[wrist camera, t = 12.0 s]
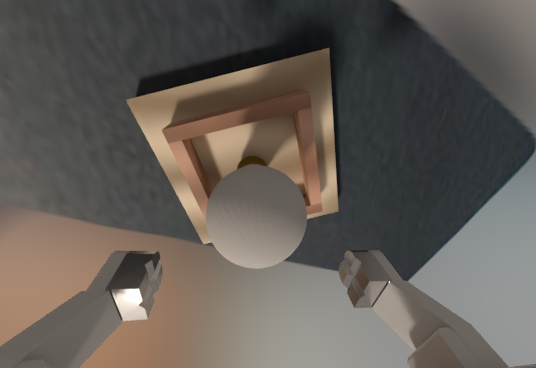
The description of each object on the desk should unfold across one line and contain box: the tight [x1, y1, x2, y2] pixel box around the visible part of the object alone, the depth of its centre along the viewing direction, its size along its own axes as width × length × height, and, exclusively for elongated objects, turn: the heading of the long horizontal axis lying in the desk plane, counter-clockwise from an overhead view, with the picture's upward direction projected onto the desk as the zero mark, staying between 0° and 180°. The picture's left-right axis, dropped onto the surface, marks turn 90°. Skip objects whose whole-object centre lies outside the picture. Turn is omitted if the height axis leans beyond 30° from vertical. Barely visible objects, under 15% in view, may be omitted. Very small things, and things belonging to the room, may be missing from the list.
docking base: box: [126, 48, 338, 244], centre depth 18 cm, size 15×15×4 cm
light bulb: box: [206, 156, 307, 268], centre depth 14 cm, size 6×6×10 cm
